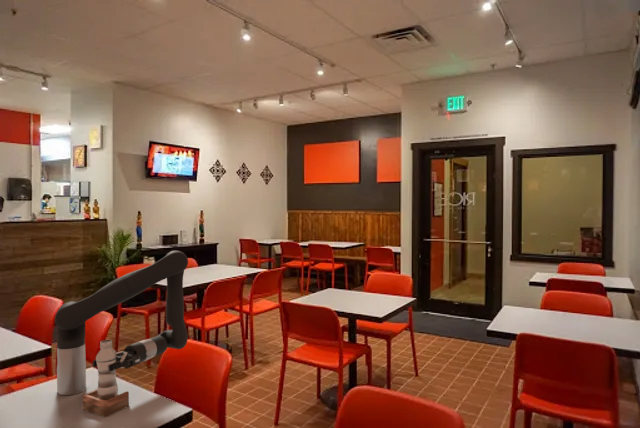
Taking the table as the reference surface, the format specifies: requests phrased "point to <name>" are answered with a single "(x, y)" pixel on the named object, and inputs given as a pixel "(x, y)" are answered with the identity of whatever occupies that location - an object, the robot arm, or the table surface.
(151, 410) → the table surface
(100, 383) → the plastic bottle
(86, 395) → the dock
